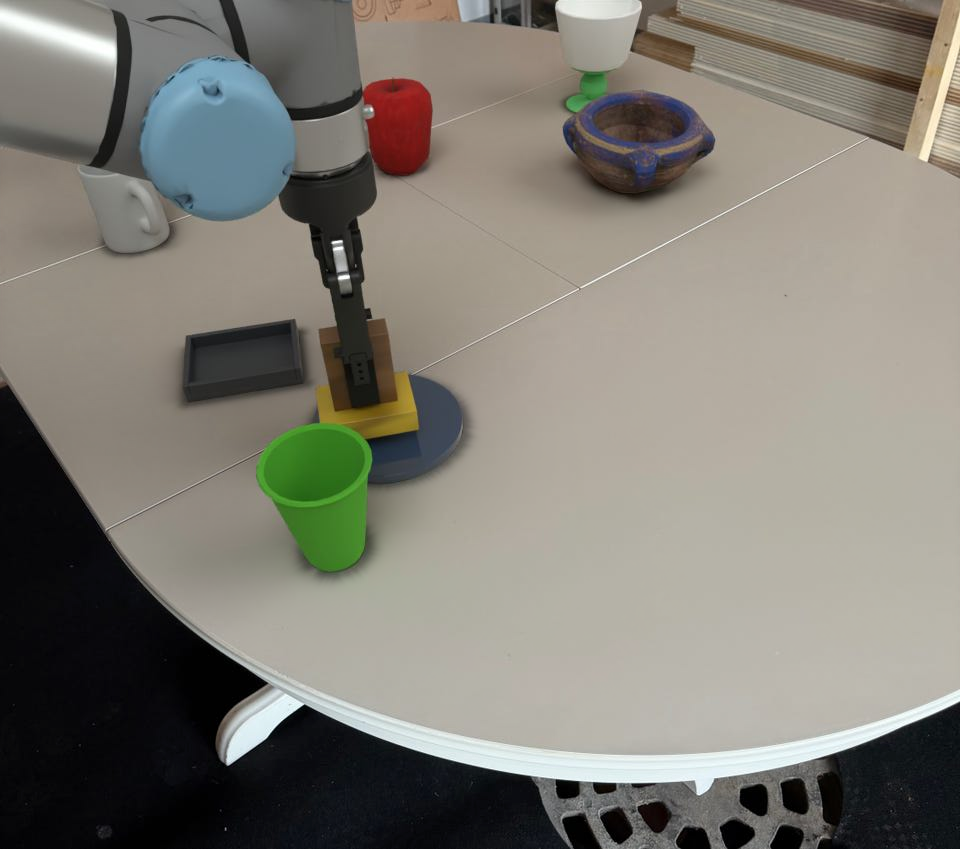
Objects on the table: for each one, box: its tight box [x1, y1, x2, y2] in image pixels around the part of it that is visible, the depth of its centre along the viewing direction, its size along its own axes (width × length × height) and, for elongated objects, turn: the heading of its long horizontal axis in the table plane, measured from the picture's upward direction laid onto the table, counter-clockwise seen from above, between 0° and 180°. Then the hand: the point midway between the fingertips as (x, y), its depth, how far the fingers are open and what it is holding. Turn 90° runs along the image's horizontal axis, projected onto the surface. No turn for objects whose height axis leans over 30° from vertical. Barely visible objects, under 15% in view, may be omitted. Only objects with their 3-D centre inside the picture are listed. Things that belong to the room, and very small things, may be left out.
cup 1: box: [255, 423, 372, 573], centre depth 68 cm, size 9×9×11 cm
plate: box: [312, 372, 464, 484], centre depth 82 cm, size 15×15×1 cm
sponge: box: [315, 317, 419, 439], centre depth 76 cm, size 9×6×10 cm, turn 103°
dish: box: [181, 318, 305, 403], centre depth 90 cm, size 12×9×2 cm
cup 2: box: [554, 0, 643, 114], centre depth 134 cm, size 14×14×16 cm
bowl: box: [562, 89, 716, 194], centre depth 116 cm, size 18×18×10 cm
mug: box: [76, 164, 171, 254], centre depth 107 cm, size 12×8×11 cm
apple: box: [363, 77, 434, 176], centre depth 120 cm, size 11×10×14 cm
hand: (363, 392), depth 78 cm, fingers closed on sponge, 2 cm apart
